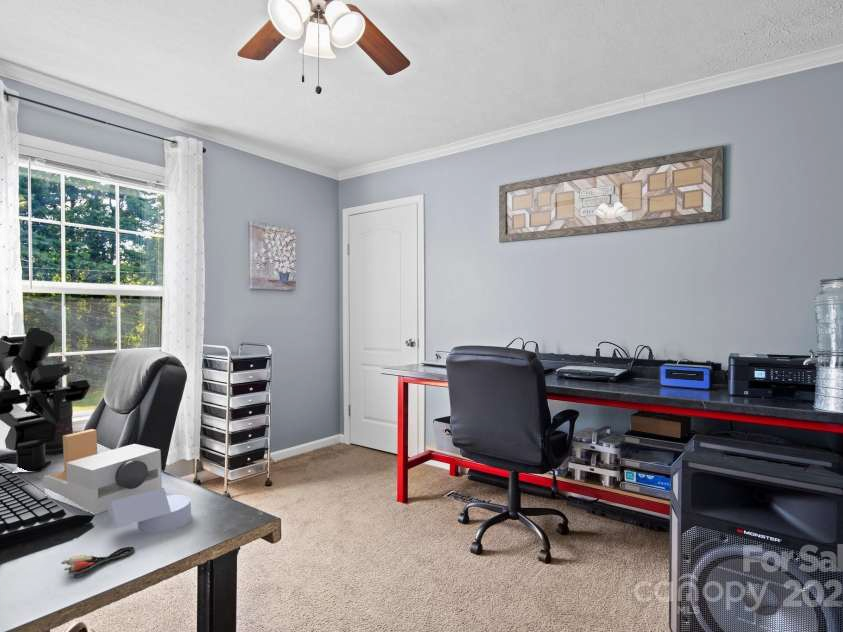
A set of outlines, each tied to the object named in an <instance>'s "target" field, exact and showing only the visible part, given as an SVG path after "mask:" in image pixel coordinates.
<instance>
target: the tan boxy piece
mask: <svg viewBox="0 0 843 632" xmlns="http://www.w3.org/2000/svg"><path fill="white" fill-rule="evenodd" d="M97 434H98V433H97V429H94V428H93V429H92V428H90V429H85V430H82V431H78V432H73V434H68V435H64V436H63V452H64V453H63V467H64V469H63V470H64V471H60V472H55V473H53V474H50V476H53V477H56V478H59V479H62V480H65V481H67V468H66V463H67V462H70V461H74V460H78V459H81V458H85V457H88V456H92V455H96V454H98V440H97V439H98V437H97V436H98V435H97Z"/></svg>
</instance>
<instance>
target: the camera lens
mask: <svg viewBox="0 0 843 632" xmlns="http://www.w3.org/2000/svg"><path fill="white" fill-rule="evenodd" d="M73 429H74V428H73V402H69V401H66V400H65V399H63V401H62V403H61V405H60V421H59V423H57V424H56V432H55V438H54V442H48V443H45V455H46V457H48V456H49V457H51V456H57V455H61V454H64V452H63V436H64V435H68V434H73V433H74V430H73Z"/></svg>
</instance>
